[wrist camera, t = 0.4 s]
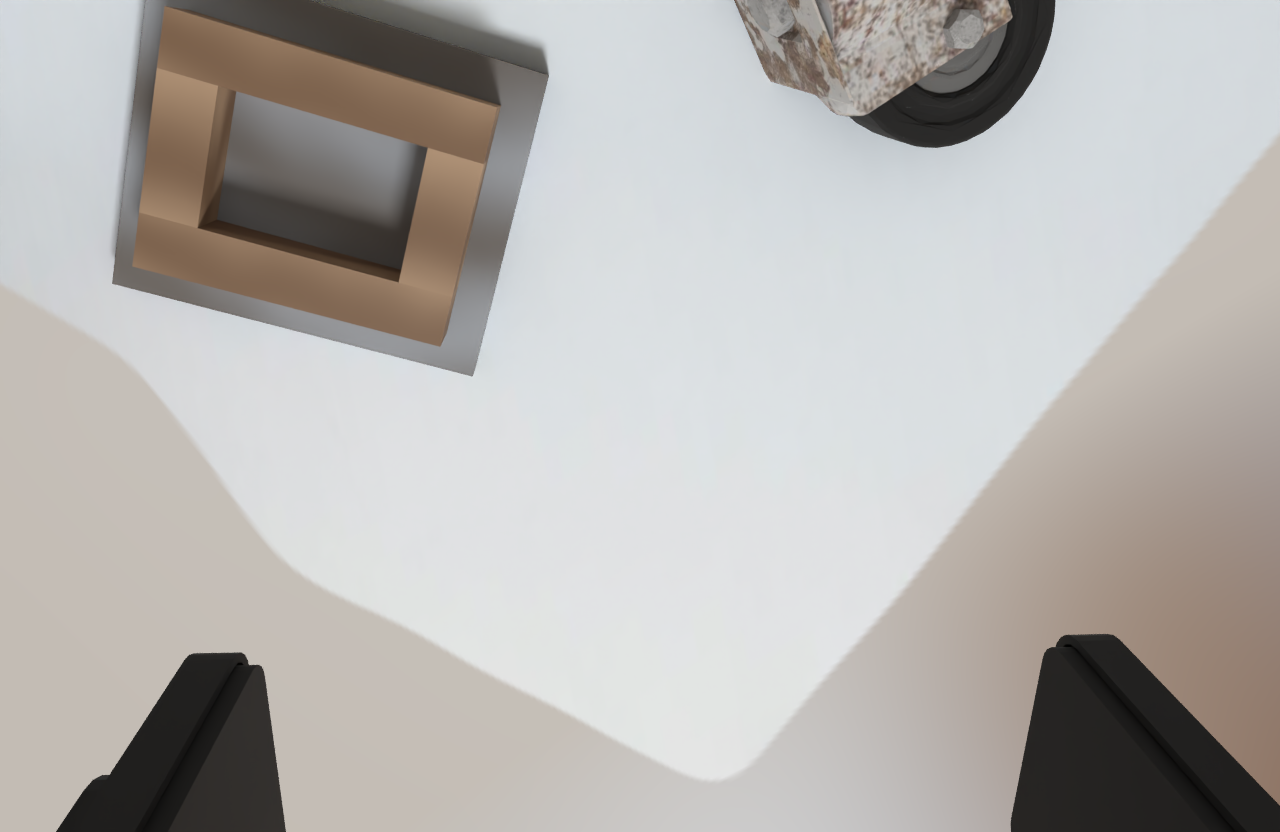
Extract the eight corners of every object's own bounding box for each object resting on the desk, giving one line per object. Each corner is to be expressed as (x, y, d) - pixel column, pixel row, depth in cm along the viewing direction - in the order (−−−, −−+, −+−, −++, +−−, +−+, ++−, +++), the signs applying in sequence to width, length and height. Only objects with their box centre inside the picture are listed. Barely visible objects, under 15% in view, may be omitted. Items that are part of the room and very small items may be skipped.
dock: (162, -46, 33) (125, -56, 30) (548, 75, 36) (547, 76, 33) (123, 278, 37) (87, 295, 34) (474, 368, 39) (467, 392, 37)
